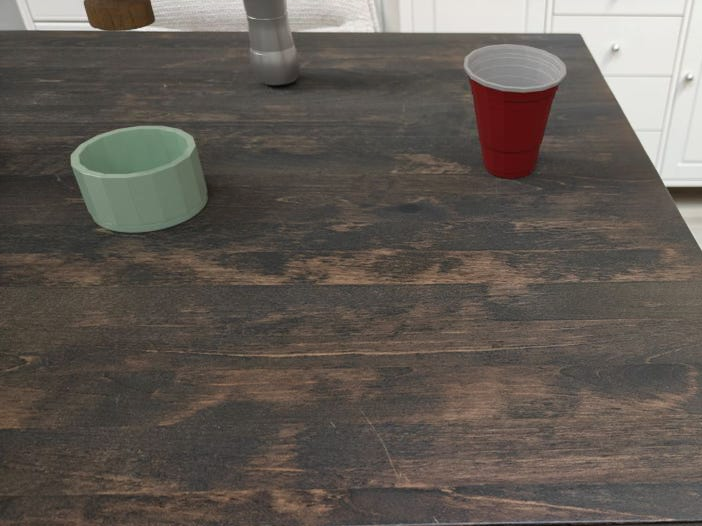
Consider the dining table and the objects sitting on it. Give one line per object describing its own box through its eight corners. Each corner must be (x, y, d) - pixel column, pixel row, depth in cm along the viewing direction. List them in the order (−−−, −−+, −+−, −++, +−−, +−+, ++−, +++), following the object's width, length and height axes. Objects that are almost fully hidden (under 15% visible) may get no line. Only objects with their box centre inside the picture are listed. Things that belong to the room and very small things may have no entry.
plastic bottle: (280, 94, 100) (252, -74, 87) (243, 84, 103) (211, -82, 90) (312, 79, 104) (290, -84, 91) (276, 70, 107) (250, -90, 94)
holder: (124, 246, 72) (104, 190, 68) (71, 203, 78) (50, 149, 74) (229, 204, 78) (217, 150, 74) (173, 167, 84) (159, 116, 80)
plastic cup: (494, 199, 79) (498, 88, 72) (446, 159, 86) (444, 53, 79) (576, 176, 84) (588, 68, 76) (524, 139, 91) (530, 37, 83)
